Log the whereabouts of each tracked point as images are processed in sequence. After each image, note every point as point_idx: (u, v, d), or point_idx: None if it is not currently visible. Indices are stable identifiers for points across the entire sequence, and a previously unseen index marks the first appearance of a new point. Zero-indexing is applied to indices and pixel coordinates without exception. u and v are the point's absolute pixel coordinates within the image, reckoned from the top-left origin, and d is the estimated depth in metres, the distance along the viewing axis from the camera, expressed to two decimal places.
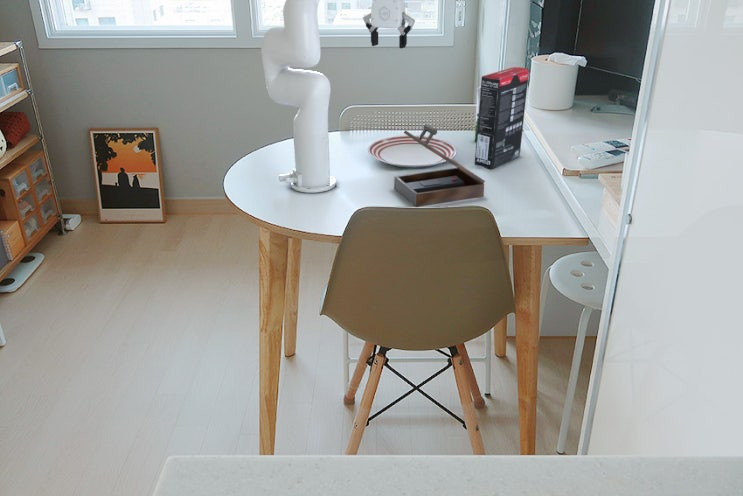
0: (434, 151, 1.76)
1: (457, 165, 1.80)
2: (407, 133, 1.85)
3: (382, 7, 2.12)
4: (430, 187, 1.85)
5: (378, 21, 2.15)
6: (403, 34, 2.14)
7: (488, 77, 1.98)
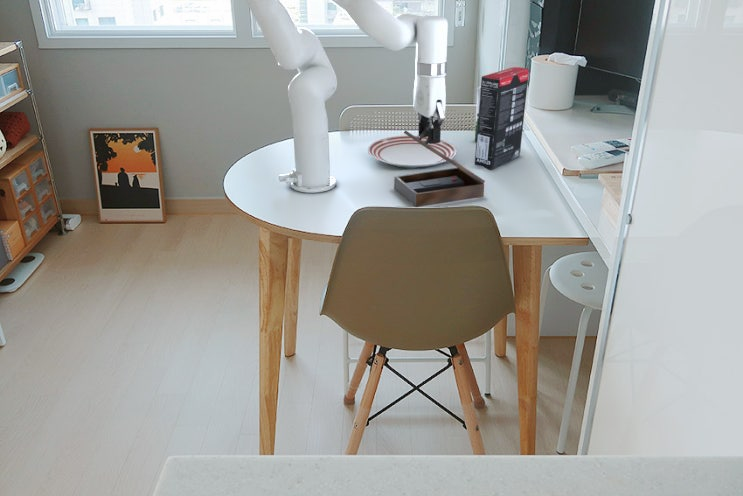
0: (434, 151, 1.76)
1: (457, 165, 1.80)
2: (407, 133, 1.85)
3: (419, 90, 1.76)
4: (430, 187, 1.85)
5: (416, 105, 1.79)
6: None
7: (488, 77, 1.98)
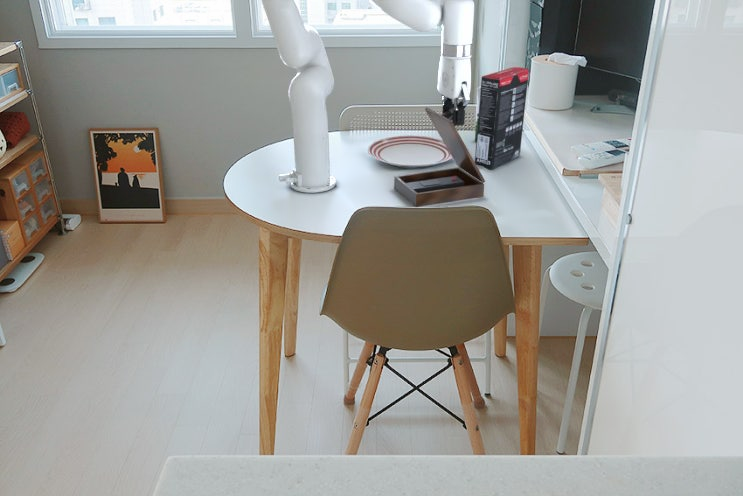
0: (454, 129, 1.75)
1: (468, 153, 1.80)
2: (429, 109, 1.85)
3: (444, 72, 1.77)
4: (430, 187, 1.85)
5: (441, 87, 1.80)
6: None
7: (488, 77, 1.98)
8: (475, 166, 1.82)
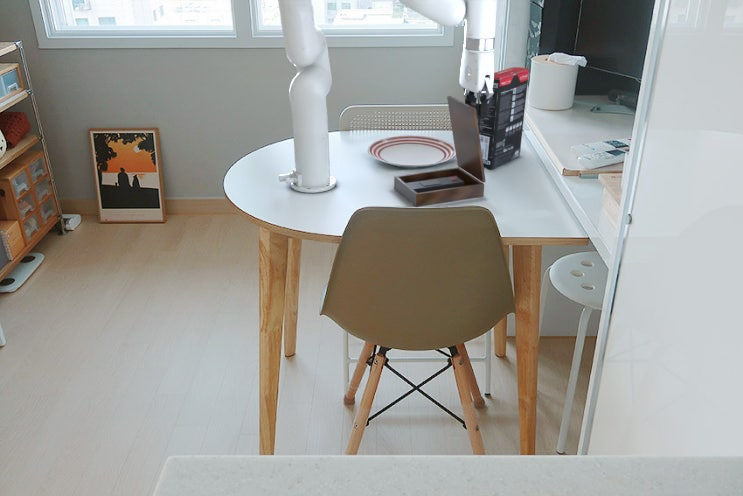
0: (475, 118, 1.76)
1: (479, 147, 1.80)
2: (451, 97, 1.86)
3: (467, 66, 1.78)
4: (430, 187, 1.85)
5: (463, 81, 1.81)
6: (479, 103, 1.79)
7: None
8: (481, 162, 1.82)
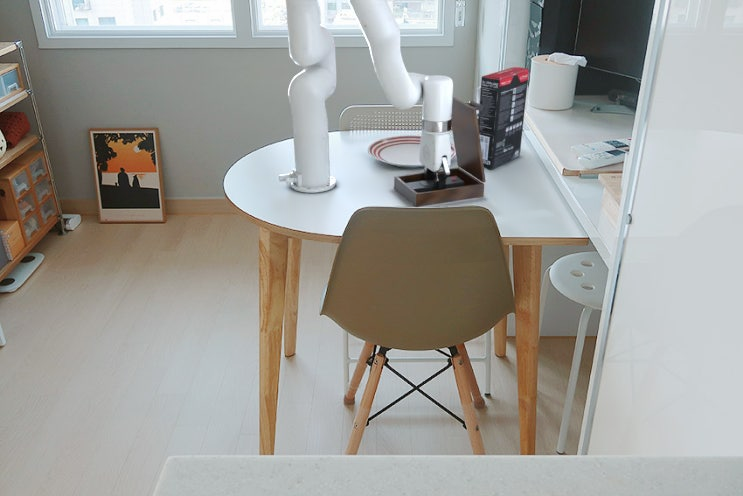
0: (475, 117, 1.76)
1: (479, 147, 1.80)
2: None
3: (425, 145, 1.83)
4: (430, 187, 1.85)
5: (422, 159, 1.86)
6: (437, 181, 1.84)
7: (488, 77, 1.98)
8: (481, 162, 1.82)
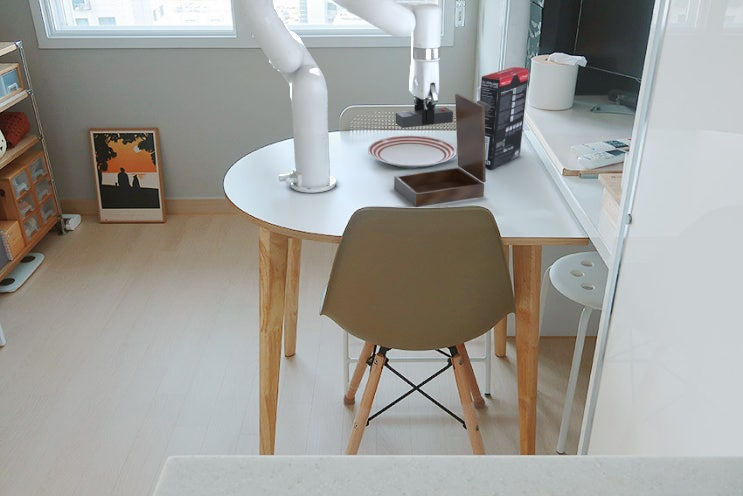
0: (483, 115, 1.77)
1: (483, 146, 1.80)
2: (460, 95, 1.86)
3: (414, 73, 1.88)
4: (419, 115, 1.90)
5: (412, 88, 1.91)
6: (426, 109, 1.88)
7: (488, 77, 1.98)
8: (484, 162, 1.82)
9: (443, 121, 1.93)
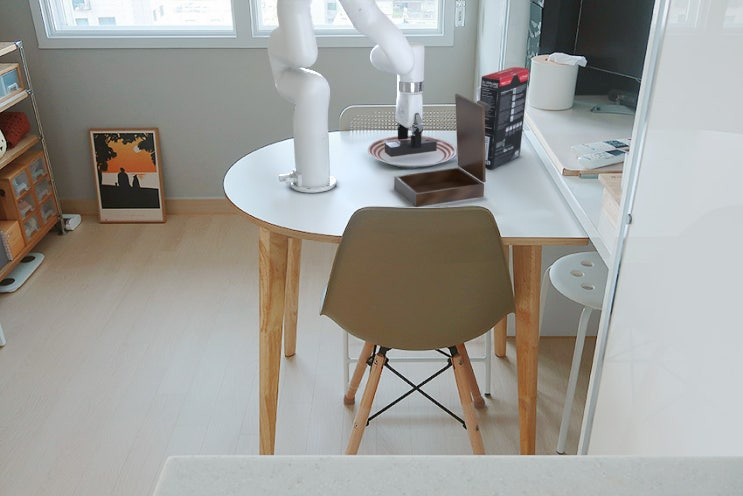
0: (483, 115, 1.77)
1: (483, 146, 1.80)
2: (460, 95, 1.86)
3: (400, 104, 2.07)
4: (406, 145, 2.10)
5: (398, 117, 2.10)
6: None
7: (488, 77, 1.98)
8: (484, 162, 1.82)
9: (428, 150, 2.13)
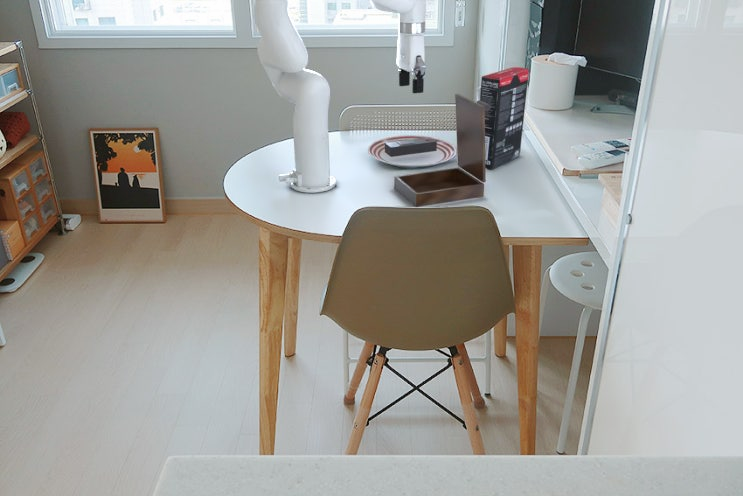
0: (483, 115, 1.77)
1: (483, 146, 1.80)
2: (460, 95, 1.86)
3: (401, 47, 2.00)
4: (406, 145, 2.10)
5: (399, 61, 2.03)
6: None
7: (488, 77, 1.98)
8: (484, 162, 1.82)
9: (428, 150, 2.13)
